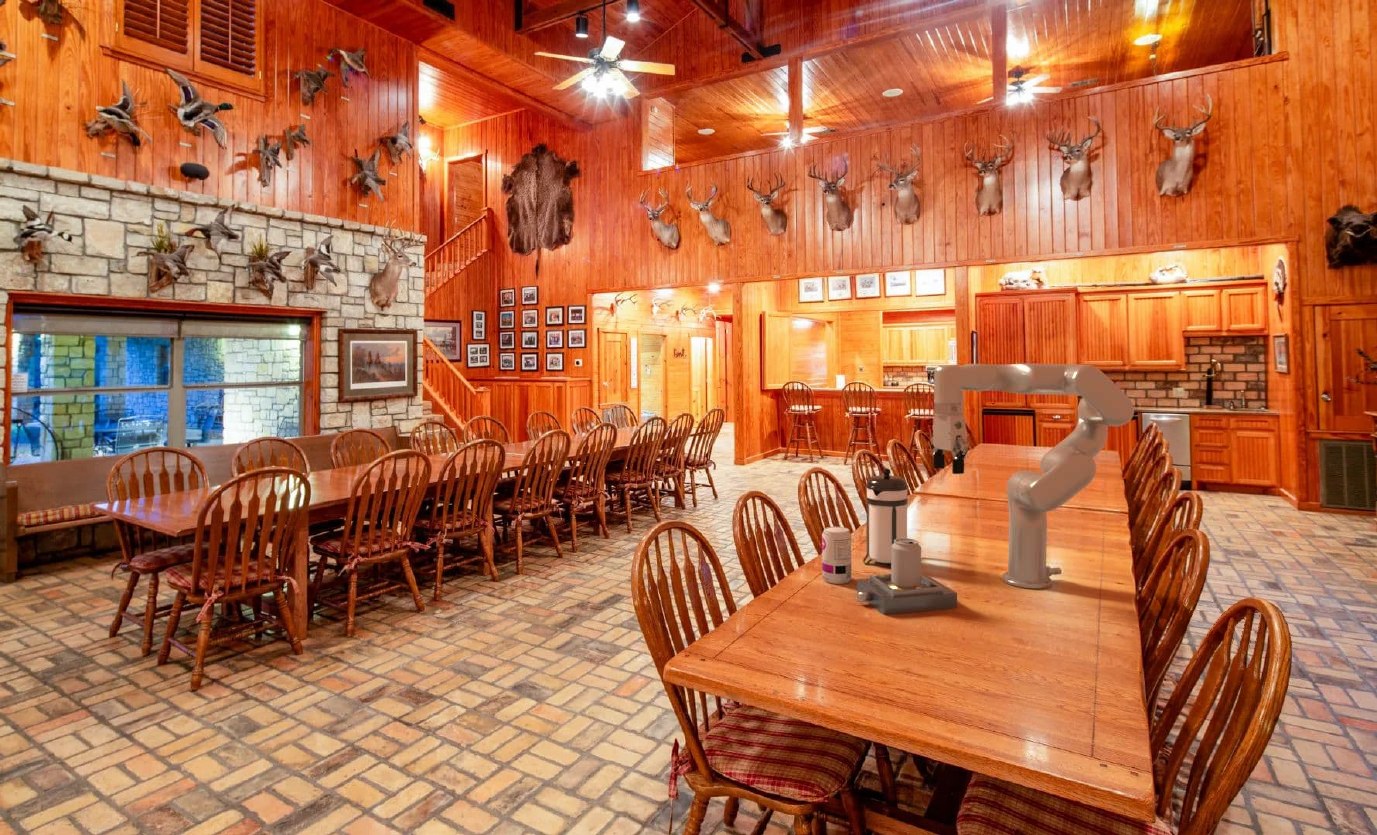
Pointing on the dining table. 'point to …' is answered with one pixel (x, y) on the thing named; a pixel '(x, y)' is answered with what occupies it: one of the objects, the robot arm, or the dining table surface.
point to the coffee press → (885, 515)
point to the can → (906, 563)
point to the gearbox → (905, 595)
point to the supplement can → (836, 555)
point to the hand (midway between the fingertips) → (948, 470)
